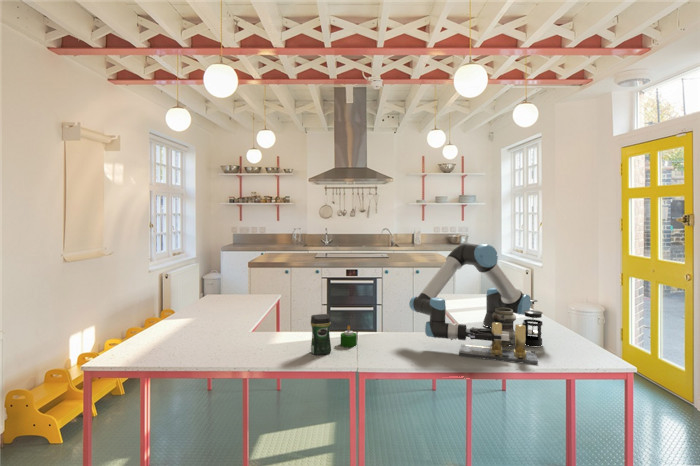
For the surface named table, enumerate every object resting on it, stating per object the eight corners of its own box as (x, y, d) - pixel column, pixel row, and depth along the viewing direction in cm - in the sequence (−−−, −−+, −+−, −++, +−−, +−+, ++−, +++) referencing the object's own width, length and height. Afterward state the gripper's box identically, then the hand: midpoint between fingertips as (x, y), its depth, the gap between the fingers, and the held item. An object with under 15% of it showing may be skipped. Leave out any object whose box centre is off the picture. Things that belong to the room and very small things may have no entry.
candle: (343, 341, 218) (343, 322, 218) (358, 343, 215) (358, 324, 215) (338, 346, 210) (338, 326, 210) (353, 348, 207) (353, 328, 207)
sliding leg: (490, 355, 192) (491, 326, 191) (491, 349, 200) (491, 321, 199) (502, 356, 190) (502, 327, 190) (502, 350, 198) (502, 322, 198)
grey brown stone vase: (504, 348, 207) (504, 312, 206) (485, 342, 217) (486, 308, 217) (520, 345, 212) (521, 310, 212) (502, 339, 223) (502, 305, 222)
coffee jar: (328, 349, 205) (328, 312, 205) (332, 354, 198) (332, 315, 197) (309, 351, 203) (309, 313, 202) (312, 356, 195) (312, 317, 194)
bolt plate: (458, 355, 196) (459, 324, 195) (461, 347, 209) (461, 317, 208) (537, 364, 184) (538, 330, 184) (535, 354, 197) (535, 323, 197)
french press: (532, 340, 220) (533, 297, 219) (547, 345, 211) (548, 300, 210) (516, 343, 215) (516, 299, 214) (530, 348, 207) (531, 302, 206)
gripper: (459, 334, 211) (508, 339, 203) (455, 344, 194) (509, 349, 186) (459, 320, 210) (508, 324, 203) (455, 328, 194) (509, 333, 186)
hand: (508, 336), depth 195 cm, fingers closed on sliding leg, 4 cm apart
